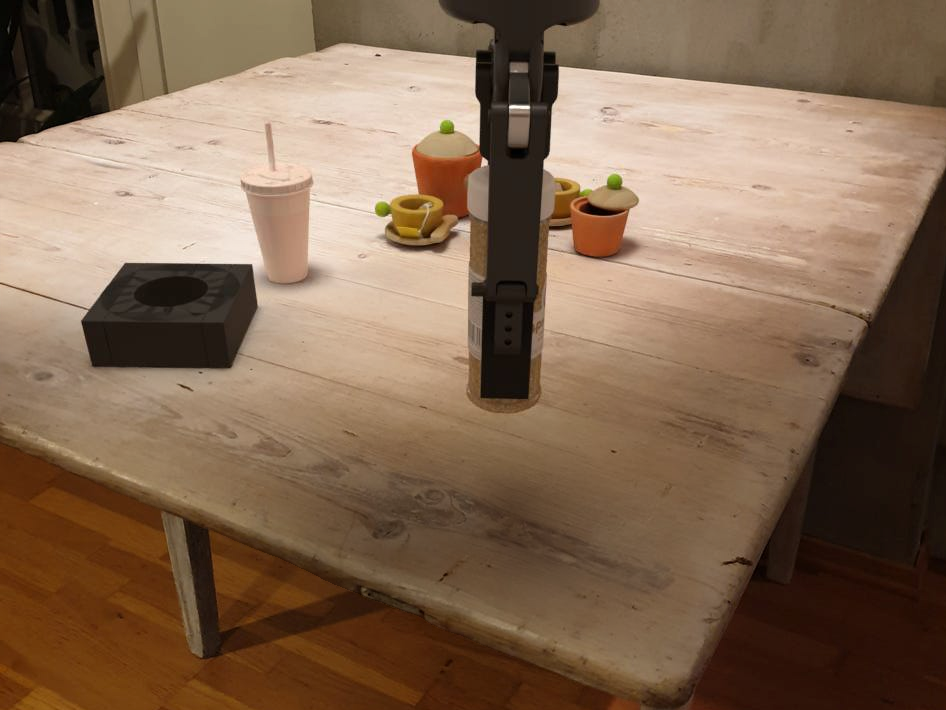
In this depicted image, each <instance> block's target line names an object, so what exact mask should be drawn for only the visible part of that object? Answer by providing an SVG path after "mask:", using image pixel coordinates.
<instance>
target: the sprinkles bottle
mask: <svg viewBox="0 0 946 710" xmlns="http://www.w3.org/2000/svg"><path fill="white" fill-rule="evenodd" d="M554 178H555V176H554V175H553V174H552V173H551V172H549V171H548V170H546V169H544V168H543V183H542V200H541V217H540V233H539V250H538V266H537V285H539V292H538V295H537V300H535V302H534V314H533V331H532V348H531V365H530V383H529V399H490V398H480V389H481V348H482V308H483V297H473V296H471V286H472V282H483V280H485V278H486V269H487V229H488V189H489V165H488V164H487V165H483V166H481V167H480V168H478V169H476V170H474V171H473V172H472V173H471V174H470V176H469V179H468V194H467V208H468V211H469V214H468V217H469V220H470V224H469V225H470V226H469V229H470V230H469V243H470V245H469V261H468V272H467V273H468V275H467V276H468V280H467V284H468V285H467V348H468V380H467V381H468V382H467V383H466V386H465V393H466V397H467V398H468V400H469V401H470V402H471V403H472V404H473V405H474V406H476V407H478V408H479V409H481V410H483V411H486V412H489V413H493V414H505V415H508V414H509V415H510V414H518V413H520V412H524V411H526V410H527V411H528V410H529V409H531V408H533V407H534V406H536V404H538V403H539V400H540V399H541V397H542V392H543V391H542V386H541V372H542V359H543V357H542V353H543V352H542V351H543V350H544V339H545V338H544V336H545V315H546V298H547V297H546V296H547V281H548V272H547V266H548V265H547V264H548V248H549V232H550V226H549V222H550V219H551V218H552V217H551V214H552V213H553V211H554V203H555V179H554Z"/></svg>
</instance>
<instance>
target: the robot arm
mask: <svg viewBox="0 0 946 710" xmlns="http://www.w3.org/2000/svg"><path fill="white" fill-rule="evenodd" d="M437 1H438V5H439V7H440V10H442V12H443V13H444V14H446V15H447V16H449V17H450V18H452V19H454V20H457V21H459V22H463V23H466V24H471V25H477V24H486V25H487V26H489V27H491V28H493V38H490V40H489V45H487V49H475V73H474V74H475V77H474V78H475V81H474V83H475V85H474V94H475V98H476V100H477V101H478V103H479V144H478V145H479V150H480V154H481V156H482V159H484V160H486V161H487V165H489V189H488V229H487V269H486V278H485V280H483V282H472V286H471V296H473V297H483V308H482V348H481V389H480V398H490V399H529V383H530V365H531V348H532V331H533V314H534V302H535V300H537V295H538V292H539V285H537V266H538V250H539V233H540V217H541V200H542V183H543V169H544V164H545V160H546V159H547V158H548V157H549V155H550V152H551V137H552V119H553V118H552V116H553V106H554V104H555V102H556V101H557V100H558V96H559V83H560V82H559V81H560V79H559V78H560V64H559V63H557V62H556V61H557V60H556V59H557V56H556V55H557V53H556V51H553V50H552V51H550V50H548V51H547V50H546V51H545V32H546V30H548V29H551V28H552V27H555V26H561V27H570V26H576V25H579V24H582V23H584V22H587V21H588V20H590V19H592V18H593V17H594V16H595V15H596V14H597V12H598V10H599V8H600V2H601V0H437Z"/></svg>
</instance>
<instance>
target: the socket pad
mask: <svg viewBox="0 0 946 710" xmlns="http://www.w3.org/2000/svg"><path fill="white" fill-rule="evenodd" d="M258 307H259V305H258V297H257V290H256V282H255V275H254V267H253V264H252V263H195V262H194V263H192V262H190V263H189V262H188V263H187V262H185V263H184V262H183V263H182V262H175V263H174V262H124V264H123V265H121V267H120V269H119V270H118V271H117V273H116V274H115V275H114V276H113V278H112V279H111V281H110V282H109V283H108V284H107V285H106V287H105V288H104V289H103V291H102V292H101V294H100V295H99V296H98V298H97V299H96V301H95V302H94V303H93V304H92V305H91V307H90V308H89V309H88V311H87V312H86V314H85V315H83V317H82V319H81V320H80V323H81V327H82V332H83V335H84V340H85V343H86V348H87V351H88V355H89V359H90V363H91V366H92V367H148V368H157V367H158V368H220V369H221V368H222V369H223V368H227V369H228V368H231V367H232V365H233V362H234V360H235V358H236V356H237V354H238V352H239V349H240V347H241V345H242V342H243V340H244V338H245V336H246V335H247V334H246V333H247V331H248V329H249V326H250V325H251V322H252V320H253V317H254V316H255V314H256V311H257V309H258Z"/></svg>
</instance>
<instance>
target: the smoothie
mask: <svg viewBox="0 0 946 710" xmlns="http://www.w3.org/2000/svg"><path fill="white" fill-rule="evenodd" d="M264 132H265V140H266V148H267V149H266V150H267V157H268V163H264V164H258V165H255V166H252V167H249V168H246V169H245V170H243V171H242V173H240V176H239V180H240V189H241V190H242V191H243V192H244V193H245V195H246V199H247V204H248V208H249V211H250V215H251V218H252V223H253V227H254V230H255V234H256V238H257V242H258V246H259V249H260V253H261V257H262V262H263V265H264V268H265V272H266V276H267V280H269V281H271V282H273V283H276V284H284V285H285V284H294V283H297V282H301V281H303V280H304V279H306V278H307V276H308V269H309V267H308V265H309V261H308V260H309V237H310V236H309V233H310V232H309V231H310V206H311V204H310V203H311V195H310V194H311V188H312V187H313V186H314V179H313V172H312V170H311V169H310V168H308V167H307V166H305V165H301V164H298V163H290V162H276V155H275V154H276V153H275V148H274V147H275V146H274V138H273V128H272V122H271V121H264Z"/></svg>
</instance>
